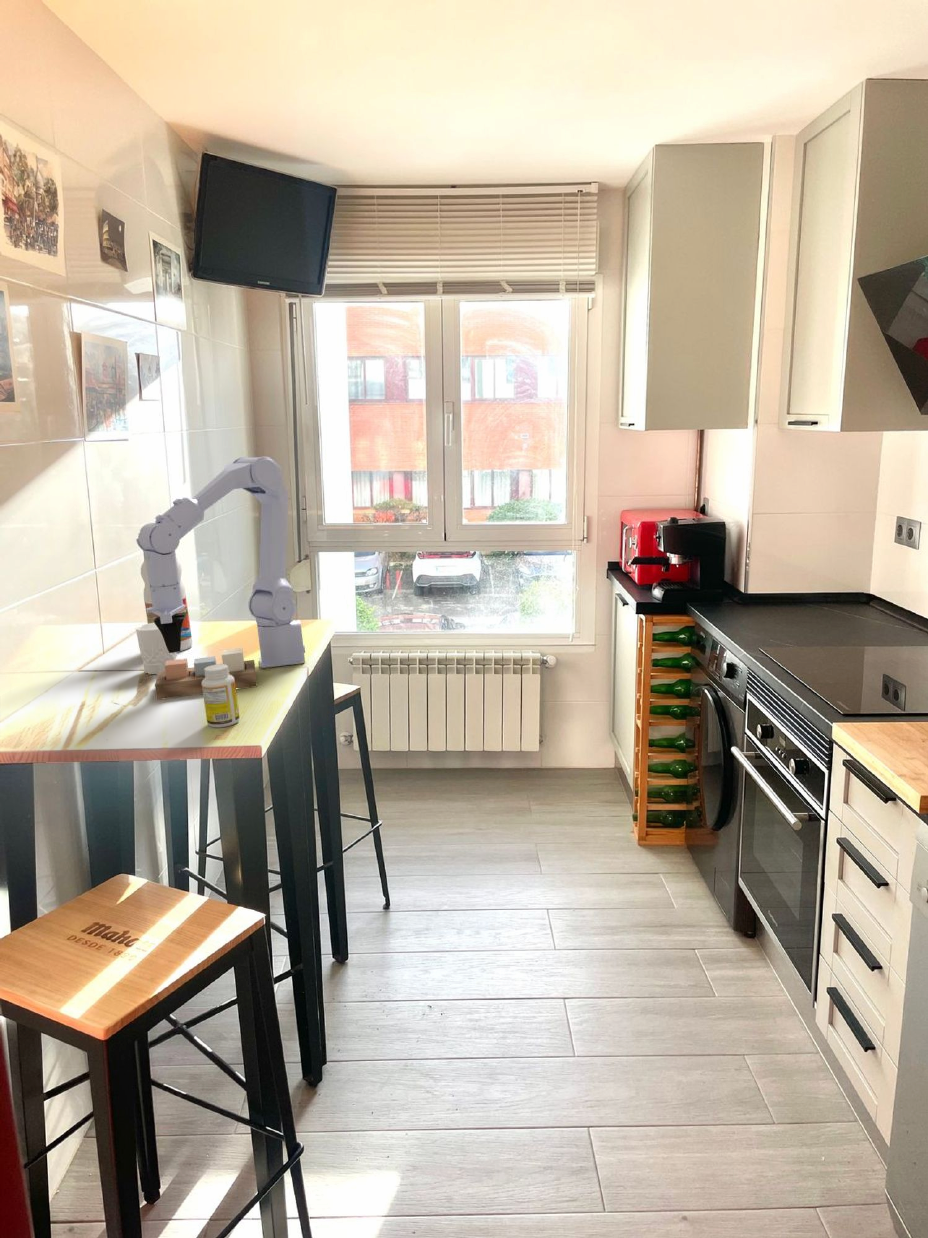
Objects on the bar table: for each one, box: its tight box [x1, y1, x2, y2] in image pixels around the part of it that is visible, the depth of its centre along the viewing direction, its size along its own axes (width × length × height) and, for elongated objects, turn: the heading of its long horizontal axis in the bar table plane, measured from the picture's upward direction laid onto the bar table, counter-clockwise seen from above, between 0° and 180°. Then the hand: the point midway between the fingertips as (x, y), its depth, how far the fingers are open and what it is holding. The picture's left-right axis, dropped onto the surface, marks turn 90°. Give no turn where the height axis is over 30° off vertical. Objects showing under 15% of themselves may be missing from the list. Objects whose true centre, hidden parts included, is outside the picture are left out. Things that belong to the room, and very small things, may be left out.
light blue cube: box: [193, 655, 217, 676], centre depth 183 cm, size 4×4×4 cm
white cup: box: [135, 623, 178, 675], centre depth 198 cm, size 8×8×10 cm
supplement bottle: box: [202, 663, 240, 728], centre depth 159 cm, size 6×6×10 cm
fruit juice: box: [140, 558, 193, 652], centre depth 215 cm, size 9×9×28 cm
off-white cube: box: [221, 647, 245, 672], centre depth 184 cm, size 4×4×4 cm
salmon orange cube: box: [165, 658, 189, 680], centre depth 182 cm, size 4×4×4 cm
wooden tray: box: [154, 659, 257, 700], centre depth 184 cm, size 19×10×3 cm, turn 103°
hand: (174, 651), depth 181 cm, fingers closed
